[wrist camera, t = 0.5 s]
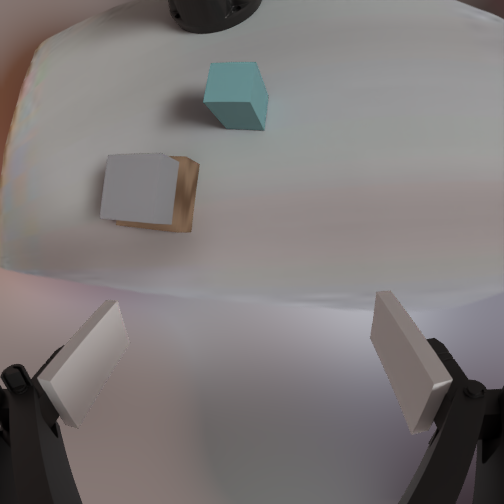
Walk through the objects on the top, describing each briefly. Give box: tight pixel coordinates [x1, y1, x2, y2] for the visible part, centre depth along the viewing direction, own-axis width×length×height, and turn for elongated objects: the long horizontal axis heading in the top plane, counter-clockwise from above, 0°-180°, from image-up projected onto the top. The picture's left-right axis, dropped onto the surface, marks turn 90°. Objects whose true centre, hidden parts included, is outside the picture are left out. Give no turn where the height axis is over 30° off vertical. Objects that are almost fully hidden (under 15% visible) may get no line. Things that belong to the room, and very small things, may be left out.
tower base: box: [116, 156, 200, 232], centre depth 37 cm, size 9×9×4 cm
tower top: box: [100, 153, 179, 225], centre depth 33 cm, size 8×8×4 cm
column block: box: [203, 62, 268, 130], centre depth 32 cm, size 5×5×9 cm
